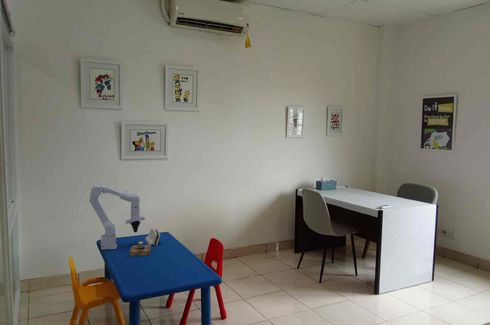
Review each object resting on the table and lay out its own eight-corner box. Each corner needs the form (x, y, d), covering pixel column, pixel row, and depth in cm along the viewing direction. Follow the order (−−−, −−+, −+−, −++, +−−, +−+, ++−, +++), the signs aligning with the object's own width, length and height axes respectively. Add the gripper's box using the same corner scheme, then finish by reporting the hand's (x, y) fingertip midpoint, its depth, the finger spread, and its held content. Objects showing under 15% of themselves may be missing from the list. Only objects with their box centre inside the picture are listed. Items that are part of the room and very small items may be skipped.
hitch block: (129, 256, 238) (129, 251, 238) (132, 250, 250) (132, 245, 250) (149, 255, 240) (149, 250, 240) (150, 249, 252) (150, 245, 252)
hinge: (144, 239, 274) (149, 226, 275) (151, 240, 276) (155, 227, 277) (150, 246, 259) (155, 232, 260) (156, 247, 261) (161, 233, 262)
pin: (137, 253, 243) (137, 243, 243) (138, 251, 247) (138, 241, 246) (142, 253, 244) (142, 243, 243) (143, 251, 247) (143, 241, 247)
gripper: (130, 215, 250) (130, 235, 251) (147, 211, 262) (147, 230, 263) (123, 213, 254) (123, 233, 255) (140, 210, 266) (140, 228, 267)
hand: (135, 232), depth 259 cm, fingers closed
